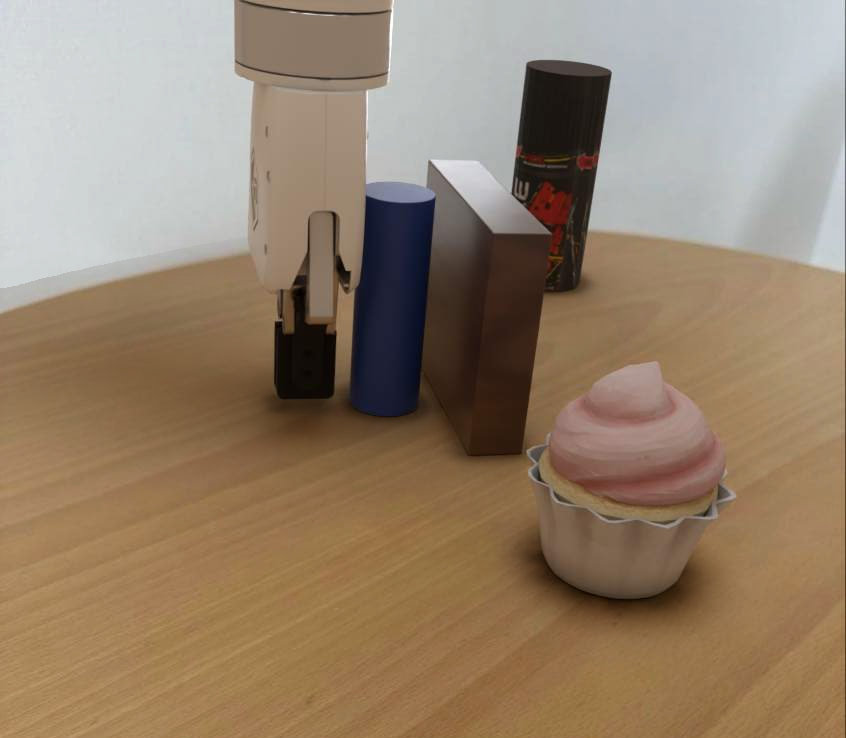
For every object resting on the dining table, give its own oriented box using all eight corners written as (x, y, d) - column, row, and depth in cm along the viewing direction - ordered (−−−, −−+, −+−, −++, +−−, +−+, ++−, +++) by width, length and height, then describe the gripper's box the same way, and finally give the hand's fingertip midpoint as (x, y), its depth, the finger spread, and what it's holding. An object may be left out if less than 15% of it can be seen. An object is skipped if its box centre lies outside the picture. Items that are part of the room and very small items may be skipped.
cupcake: (748, 616, 50) (806, 408, 45) (544, 628, 48) (580, 412, 43) (667, 509, 58) (709, 321, 53) (489, 515, 56) (514, 320, 51)
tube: (381, 447, 66) (248, 296, 59) (370, 417, 69) (242, 270, 63) (535, 333, 64) (414, 163, 58) (515, 307, 67) (399, 144, 61)
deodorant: (594, 280, 88) (627, 71, 80) (551, 297, 84) (581, 79, 76) (530, 260, 91) (557, 57, 83) (486, 275, 87) (509, 63, 79)
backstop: (468, 455, 61) (493, 233, 55) (412, 352, 73) (428, 159, 67) (522, 453, 62) (552, 234, 56) (458, 352, 74) (478, 160, 67)
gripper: (222, 16, 61) (225, 343, 70) (250, 70, 49) (250, 457, 58) (362, 23, 63) (347, 341, 72) (423, 78, 50) (395, 452, 60)
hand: (303, 392), depth 65 cm, fingers closed
